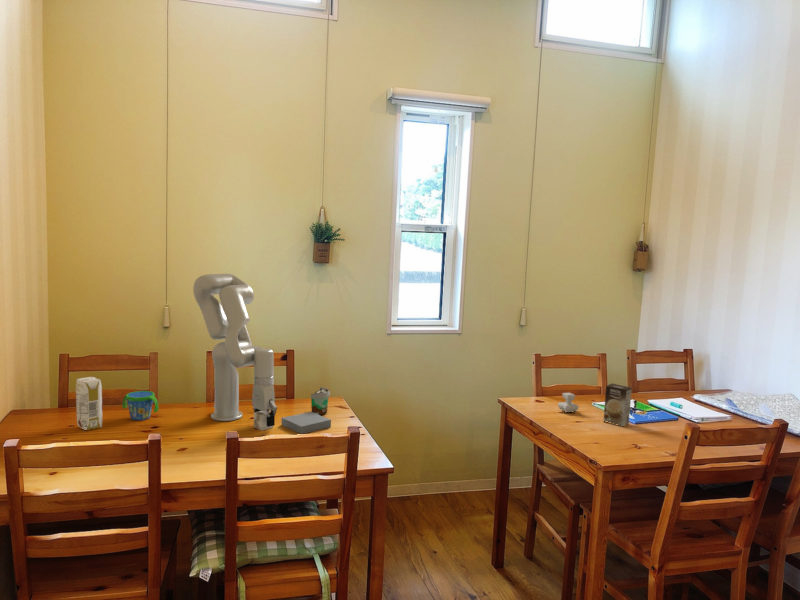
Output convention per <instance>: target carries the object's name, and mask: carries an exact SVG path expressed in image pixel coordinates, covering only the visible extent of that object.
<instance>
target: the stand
mask: <svg viewBox="0 0 800 600" xmlns="http://www.w3.org/2000/svg"><path fill="white" fill-rule="evenodd" d="M282 425H283V427H285V428H288V429H289V430H292V431H293V432H295V433H299V434H300V435H304V434H307V433H313V432H315V431H320V430H325V429H328V428H329V429H330V428H331V427H332V420H331V419H330V418H328V417H326V416H324V415H323V416H320V415H318V414H315V413H313V412H312V411H307V412H302V413H298V414H294V415H288V416H284V417H283V416H282V417H281V426H282Z"/></svg>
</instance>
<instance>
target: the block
mask: <svg viewBox="0 0 800 600" xmlns="http://www.w3.org/2000/svg"><path fill="white" fill-rule="evenodd" d="M270 412H271V411H269V413H270ZM267 416H268V415H267V413H266V411H258V412H254V411H253V428H255V429H258V430H259V431H265V430H269V429H273V428H274V426H269V427H267Z"/></svg>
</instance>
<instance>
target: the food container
mask: <svg viewBox="0 0 800 600" xmlns="http://www.w3.org/2000/svg"><path fill="white" fill-rule="evenodd" d="M330 396H331V392H330V389H328V388H326V387H322V386H321V387H319V390H316V391H315V392H314V393H310V400H311V401H310V402H311V407H310V408H311V412H313V413H315V414H318V415H320V416H321V415H323V416H326V415H327V414H328V407H329V406H328V405H329V397H330ZM326 413H327V414H326ZM325 414H326V415H325Z"/></svg>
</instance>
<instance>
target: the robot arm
mask: <svg viewBox="0 0 800 600" xmlns="http://www.w3.org/2000/svg"><path fill="white" fill-rule="evenodd" d="M192 289H193V296H194V300H195V301H196V304H197V305H198V307H199V309H200V311H201V314H202V317H203V320H204V324H205V326H206V330H207V332H208V335H209V336H210V338H211V339H212V340H214V341H215V340H216V341H220V340H221V342H219V343H216V344H214V346H213V347H212V351H211V357H212V363H213V369H214V404H213V408H214V412H212V413H211V414H210V419H212V420H213V421H217V422H218V421H219V422H230V421H235V420H236V421H237V420H239V419H241V418H243V412H242V411H240V410H239V407H240V406H239V402H240V399H239V398H240V397H239V394H240V391H239V387H240V386H239V382H240V381H239V380H240V379H239V378H240V377H239V376H240V375H239V371H238V369H237V368H240V369H241V368H245V367H250V366H253V379H254V380H253V381H254V382H253V387H252V396H251V405H252V407H253V408H252V410H253V413H254V412H258V411H266V413H267V415H268V416H267V427H269V426H273V427H274V426H275V425H276V424H275V420H276V419H275V417H276V414H277V410H278V405H277V404H275V403H276V402H275V401H276V400H275V399H276V397H275V388H274V387H275V386H274V384H275V382H274V381H275V379H274V377H275V376H274V375H275V373H274V372H275V368H274V367H275V358H274V356H275V354H274V353H275V352H274V351H273V349H271V348H264V347H262V346H259V345H253V343H252V340H251V338H250V334H249V331H248V328H247V324H249V323H250V320H251V319H250V316H249V313H248V311H247V307H246V305H250V304H252V302H253V301H254V299H255V294H254V291H253V289H252V287H251V286H250V285H249V284H248V283H246V282H245V281H243V280H242V279H241V278H239V277H237V276H236V275H234V274H231V273H210V274H203V275H200V276H199V277H197V278H196V279H195V280H194V283H193V288H192ZM215 295H218V296H219V299H220V301H219V300H218V299H217V298H216V297H215ZM222 340H224V341H222ZM269 411H270V413H269Z"/></svg>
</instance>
